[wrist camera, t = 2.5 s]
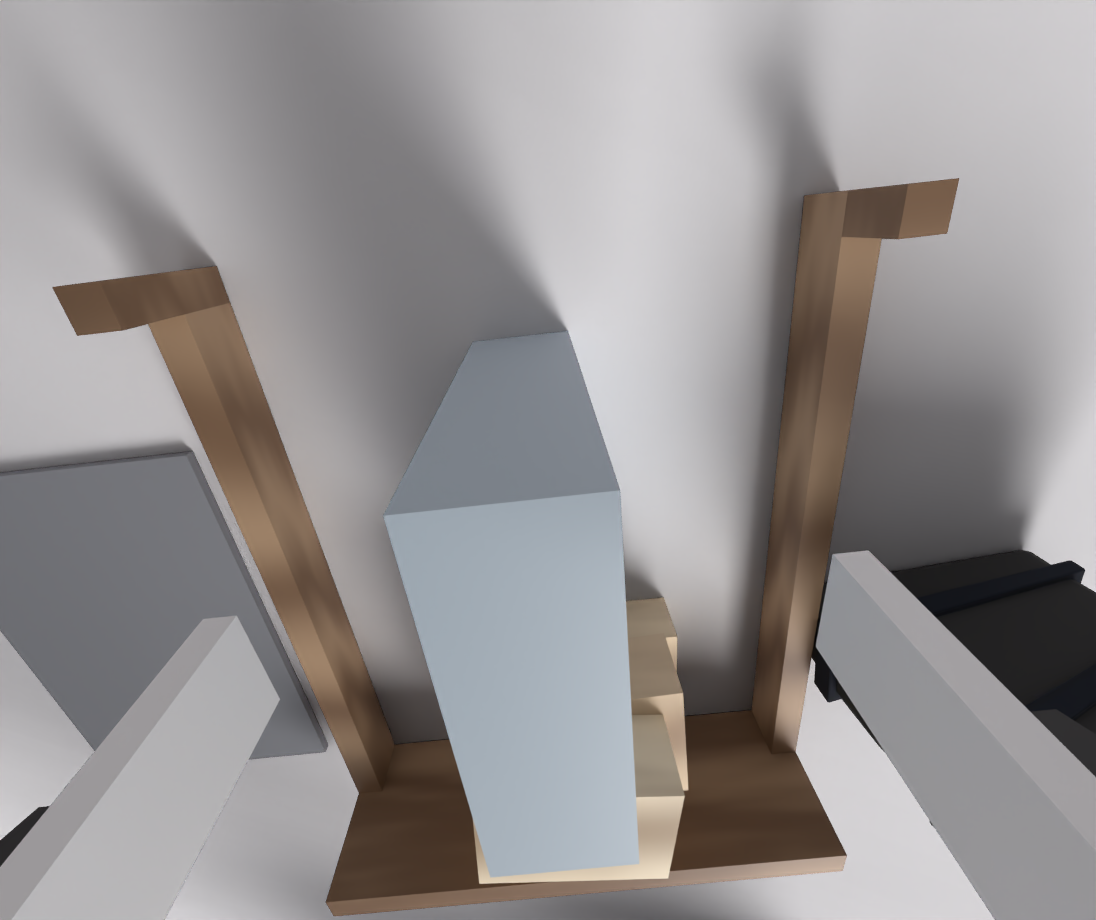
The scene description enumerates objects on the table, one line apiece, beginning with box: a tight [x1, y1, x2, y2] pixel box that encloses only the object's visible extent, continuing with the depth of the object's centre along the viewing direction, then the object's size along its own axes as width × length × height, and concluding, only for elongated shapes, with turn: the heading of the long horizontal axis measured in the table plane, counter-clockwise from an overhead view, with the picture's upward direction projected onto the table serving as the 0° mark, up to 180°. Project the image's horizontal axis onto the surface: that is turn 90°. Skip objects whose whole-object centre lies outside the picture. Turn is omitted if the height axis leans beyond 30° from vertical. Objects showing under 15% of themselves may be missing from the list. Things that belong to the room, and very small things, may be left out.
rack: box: [52, 178, 959, 916], centre depth 19 cm, size 26×22×7 cm
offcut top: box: [473, 715, 685, 884], centre depth 19 cm, size 5×7×3 cm
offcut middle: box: [628, 633, 688, 791], centre depth 21 cm, size 6×9×3 cm, turn 99°
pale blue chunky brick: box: [383, 331, 639, 878], centre depth 15 cm, size 10×4×12 cm, turn 6°
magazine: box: [811, 550, 1096, 827], centre depth 19 cm, size 4×13×15 cm, turn 101°
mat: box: [0, 451, 328, 759], centre depth 23 cm, size 18×12×1 cm, turn 6°
